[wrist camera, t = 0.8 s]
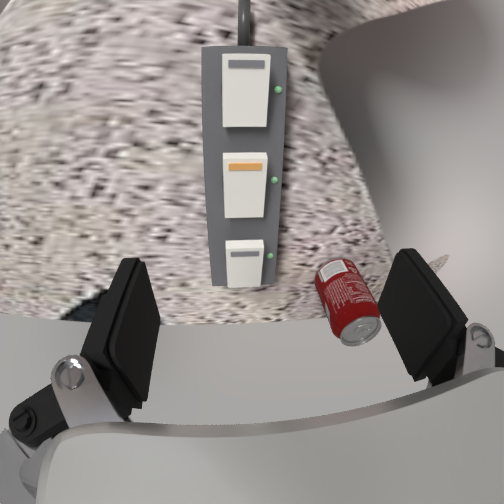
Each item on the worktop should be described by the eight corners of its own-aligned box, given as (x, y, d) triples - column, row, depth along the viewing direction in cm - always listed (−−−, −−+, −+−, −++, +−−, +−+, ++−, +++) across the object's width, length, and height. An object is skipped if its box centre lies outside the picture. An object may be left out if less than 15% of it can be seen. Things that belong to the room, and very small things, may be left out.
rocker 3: (225, 240, 30) (225, 249, 29) (262, 239, 30) (264, 248, 29) (227, 280, 35) (227, 288, 34) (259, 278, 36) (260, 287, 35)
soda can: (310, 262, 40) (334, 324, 30) (353, 250, 40) (388, 306, 30) (315, 294, 44) (336, 355, 34) (355, 283, 43) (383, 339, 33)
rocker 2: (222, 152, 25) (222, 159, 24) (266, 152, 25) (267, 159, 24) (224, 210, 30) (224, 219, 29) (262, 209, 30) (263, 218, 29)
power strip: (206, 5, 20) (202, -7, 17) (280, 6, 21) (289, -6, 17) (213, 267, 39) (212, 289, 35) (270, 265, 40) (274, 286, 36)
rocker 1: (222, 53, 20) (222, 55, 19) (268, 54, 20) (270, 56, 19) (223, 122, 25) (222, 127, 24) (264, 122, 25) (266, 127, 24)
